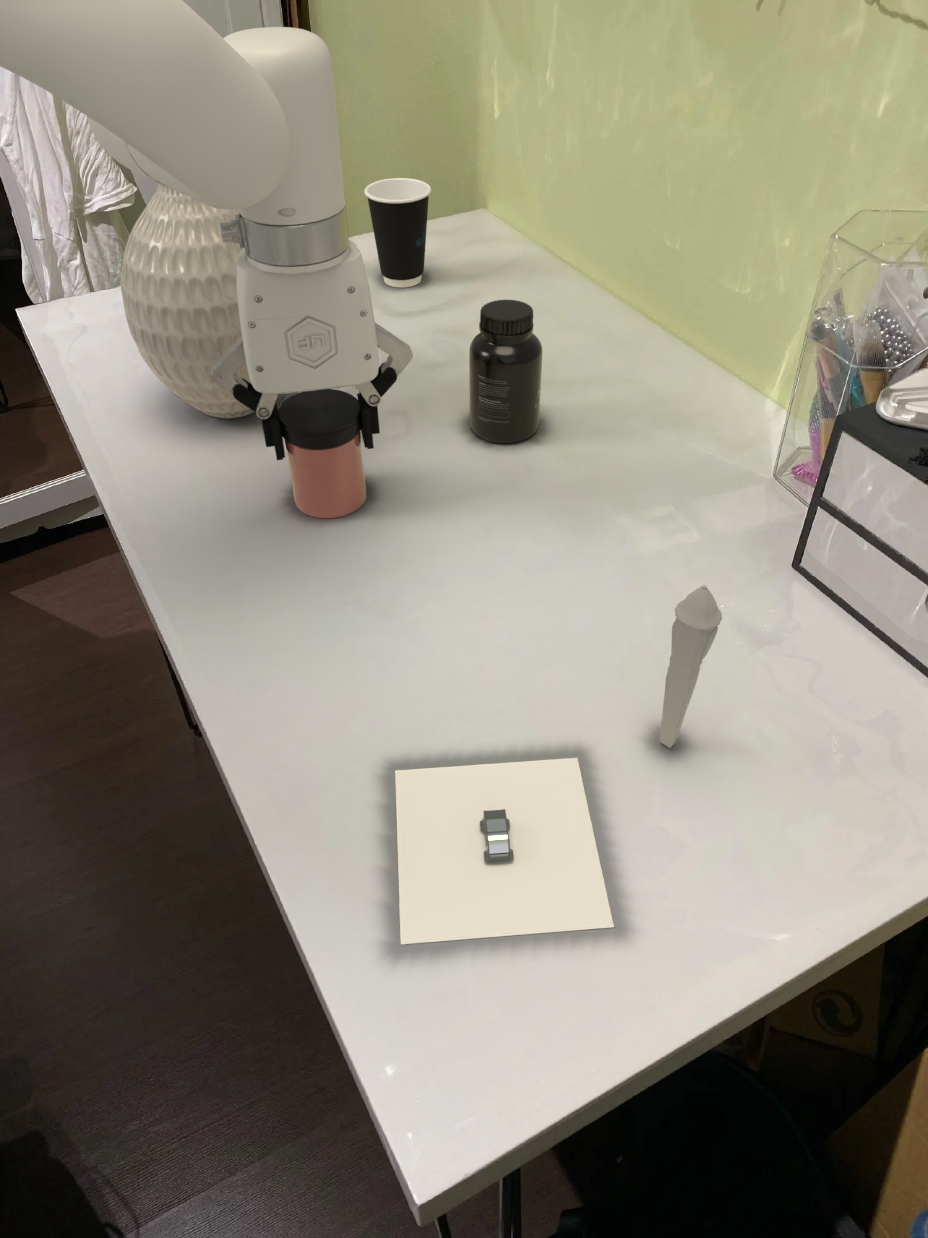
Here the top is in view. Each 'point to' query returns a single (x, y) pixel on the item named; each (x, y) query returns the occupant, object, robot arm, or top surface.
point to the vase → (184, 297)
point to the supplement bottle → (505, 373)
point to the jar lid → (320, 418)
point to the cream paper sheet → (496, 852)
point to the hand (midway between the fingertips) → (323, 444)
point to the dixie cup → (399, 228)
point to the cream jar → (328, 478)
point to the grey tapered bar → (687, 657)
